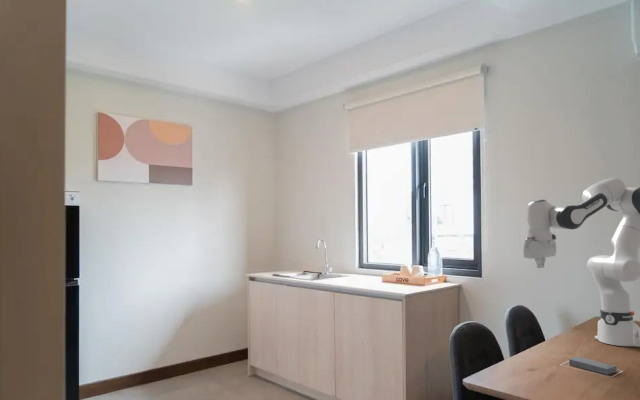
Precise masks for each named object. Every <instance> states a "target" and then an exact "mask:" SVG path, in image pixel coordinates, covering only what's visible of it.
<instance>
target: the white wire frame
mask: <svg viewBox="0 0 640 400" xmlns="http://www.w3.org/2000/svg"><path fill="white" fill-rule="evenodd" d="M566 363H569V360H567V361H565V362H563V363H560V364H559V366H561V367H563V365H564V364H566ZM564 367H566V368H568V366H565V365H564ZM569 368H571V369H572V367H570V366H569ZM573 369H575V370H576V368H575V367H573ZM577 370H579V371H582V372H585V369H581V368H580V369H579V368H577ZM617 371H619V372H618V373H617V372H616V374H614V375H612V376H610V375H607V377H609V378H613V377H615V376H617V375H618V374H621V373H623V371H624V370H623V369H618V368H617ZM586 372H587V373H589V370H586ZM592 373H593V374H596V375H600V376H602V373H598V372H594V371H590V374H592ZM603 377H606V375H605V374H603Z"/></svg>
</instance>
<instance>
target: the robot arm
mask: <svg viewBox="0 0 640 400" xmlns="http://www.w3.org/2000/svg"><path fill="white" fill-rule="evenodd" d="M581 199H582V202H581V203H579V204H578V205H564V206H555V205H554V204H552V203H550V202H548V201H547V199H538V200H537V199H536V200H532V201H530V202H529V203H528V204H527V209H526V221H527V223H528V226H527V237H526V239H525V241H524V242H523V243H524V244H523V257H524V259H531V260H532V259H534V261H535V263H536V268H537V269H544V268H545V263H546V261H547V259H546V258H549V257H550V258H552V257H555V256H556V254H557V242H556V241H557V235H556V234H554V233H553V232H551V229H561V230H562V229H564V230H565V229H566V230H577V229H578V228H580V227H581V226H582V225H583V224H584V222H585V221H586V220H587V219H588V218H590V217H592V216H593V215H594V214H595V213H597V212H599V211H600V210H602V209H603V208H605V207H606V208H607V209H608V210H610V211H613V212H623V215H622V218H621V220H620V221H619V223H618V226H617V227H616V229H615V231H614V234H613V236H612V237H611V240H610V243H611V245H612V247H613V253H612V255H605V254H600V255H594V256H591V257H590V258H589V259H588V260H587V262H586V270H587V271H588V273H589V274H590V275H591V276H592V277H593V279H594V281H595V283H596V285H597V288H598V291H599V297H600V311H599V315H600V319H599V320H598V321H597V335H594V339H595V340H598V341H599V342H601V343H603V344H608V345H611V346H612V345H613V346H619V347H639V348H640V326H639V325H638V324H637V323H636V322H635V321H634V316H635V312H634V310H631V301H630V300H631V299H630V294H629V292H628V291H627V290H625V288H624V287H623V285H622V283H621V282H623V283H624V282H625V283H627V282H635V281H637V280H639V279H640V262H639V259H638V258H639V257H638V254H639V250H640V187H626V185H625V183H624V181H623V180H622V179H620V178H616V177H610V178H607V179H603V180H599V181H597V182H596V183H594V184H592V185H590V186H588V187H587V188H586V189H584V190H583V192H582V196H581Z"/></svg>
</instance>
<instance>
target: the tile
mask: <svg viewBox="0 0 640 400" xmlns="http://www.w3.org/2000/svg"><path fill="white" fill-rule="evenodd" d="M568 361H569V362H568V363H569V364H568V365H570V366H574V367H577V368H580V369H583V370H586V371H590V372H593V373H597V374H601V375H605V376H609V375H611V374H614V373H617V371H618V370H617V369H618V368H617V365H614V364H609V363H604V362H600V361H598V360H593V359H589V358H585V357H582V356H576V357H572V358H568Z"/></svg>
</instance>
